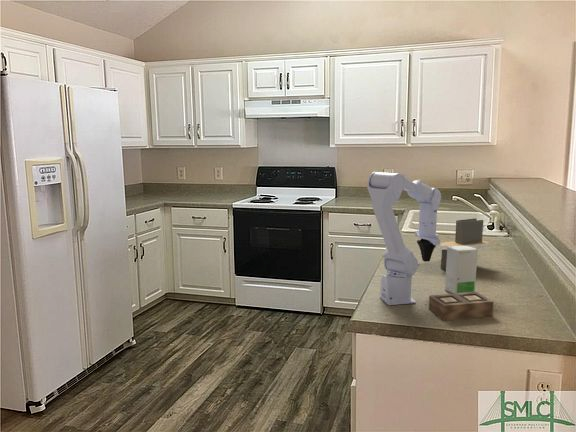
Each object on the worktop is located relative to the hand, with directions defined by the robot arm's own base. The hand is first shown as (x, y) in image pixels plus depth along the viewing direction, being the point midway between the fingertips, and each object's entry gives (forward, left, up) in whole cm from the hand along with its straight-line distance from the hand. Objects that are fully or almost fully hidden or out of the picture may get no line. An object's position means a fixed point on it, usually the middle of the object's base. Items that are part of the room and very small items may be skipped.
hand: (426, 260), depth 166 cm
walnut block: (0, -22, -10) cm, 24 cm away
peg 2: (+4, -22, -10) cm, 25 cm away
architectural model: (+27, +22, -11) cm, 36 cm away
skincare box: (+11, -4, -11) cm, 16 cm away
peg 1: (-4, -22, -10) cm, 25 cm away
